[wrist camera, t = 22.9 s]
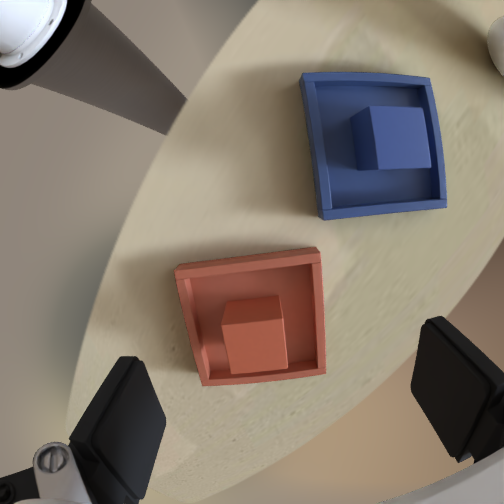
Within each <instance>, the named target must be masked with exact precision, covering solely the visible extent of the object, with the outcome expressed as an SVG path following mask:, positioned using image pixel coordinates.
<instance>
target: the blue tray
mask: <svg viewBox="0 0 504 504" xmlns="http://www.w3.org/2000/svg"><path fill="white" fill-rule="evenodd" d="M299 83H300V89H301V95H302V100H303V106H304V112H305V118H306V125H307V131H308V138H309V145H310V152H311V159H312V167H313V175H314V183H315V192H316V201H317V210H318V217H319V218H321V219H322V220H324V221H325V220H333V219H342V218H351V217H360V216H369V215H379V214H388V213H398V212H408V211H418V210H429V209H440V208H447V190H446V176H445V165H444V156H443V147H442V140H441V133H440V127H439V121H438V115H437V109H436V104H435V99H434V95H433V90H432V86H431V82H430V78H426V77H418V76H409V75H399V74H386V73H367V72H314V73H302V75H301V78H300V80H299ZM368 106H403V107H420V108H423V113H424V119H425V124H426V131H427V137H428V145H429V153H430V161H431V168H411V169H388V170H368V171H358V170H357V162H356V155H355V147H354V140H353V133H352V127H351V121H350V117H352V116H353V115H355V114H357V113H358V112H360V111H361V110H363V109H364V108H366V107H368Z"/></svg>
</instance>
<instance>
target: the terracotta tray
mask: <svg viewBox="0 0 504 504" xmlns="http://www.w3.org/2000/svg"><path fill="white" fill-rule="evenodd" d="M174 275H175V279H176V285H177V289H178V294H179V298H180V302H181V307H182V311H183V315H184V319H185V323H186V327H187V331H188V335H189V339H190V343H191V347H192V351H193V354H194V358H195V362H196V365H197V369H198V372H199V376H200V379H201V383H202V386H218V385H234V384H248V383H259V382H269V381H278V380H286V379H294V378H301V377H308V376H315V375H321V374H326V341H325V314H324V294H323V278H322V263H321V253H320V251H319V250H318V249H317V248H316V247H310V248H303V249H295V250H287V251H279V252H271V253H263V254H255V255H247V256H239V257H231V258H224V259H216V260H208V261H200V262H192V263H183V264H179V265H178V267H177V268H176V269H175V270H174ZM277 295H279V296H280V302H281V308H282V314H283V321H284V330H285V340H286V350H287V360H288V368H287V369H279V370H271V371H261V372H251V373H239V374H231V372H230V368H229V363H228V358H227V354H226V349H225V344H224V339H223V335H222V330H221V323H222V319H223V315H224V311H225V307H226V303H227V301H235V300H244V299H252V298H261V297H269V296H277Z"/></svg>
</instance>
